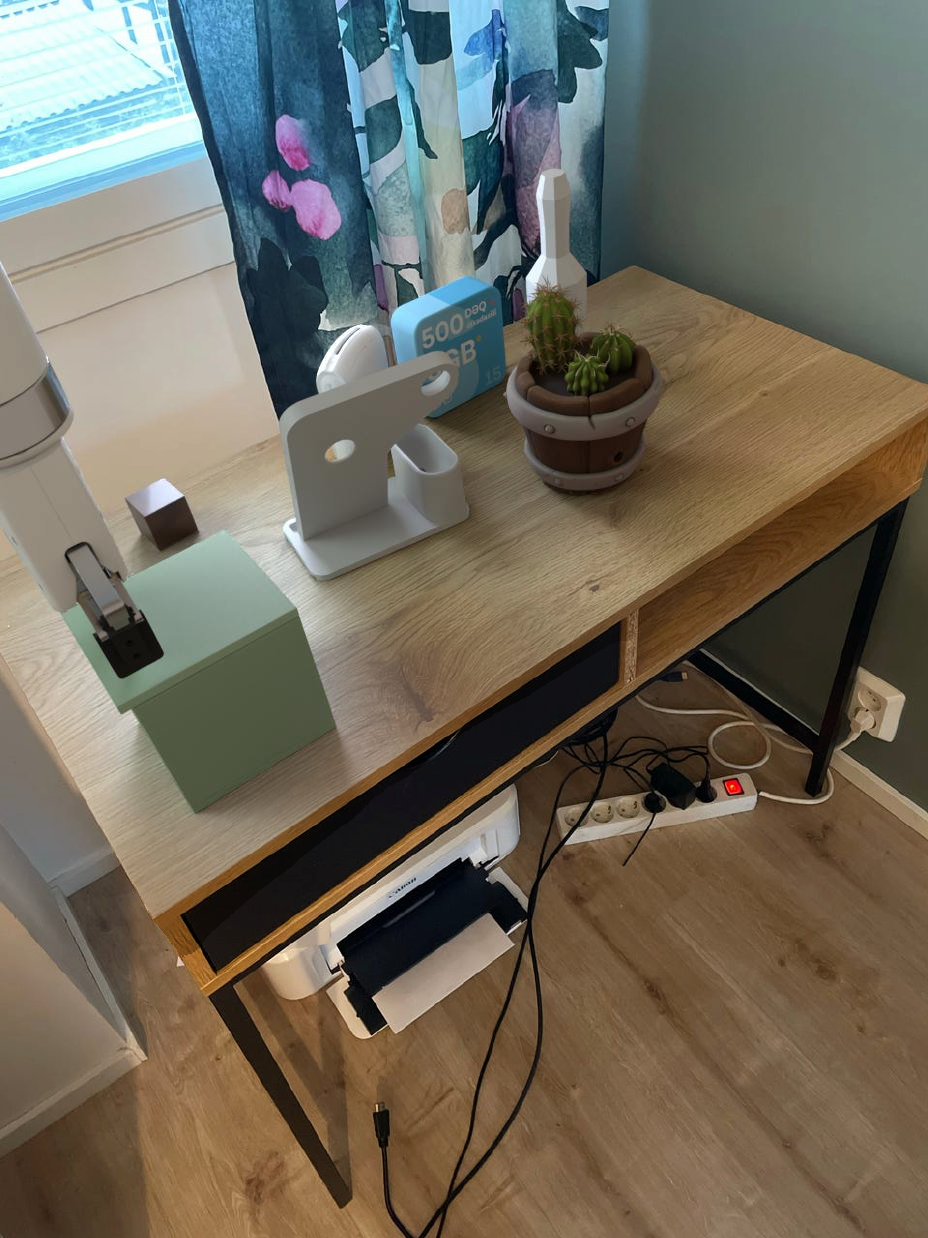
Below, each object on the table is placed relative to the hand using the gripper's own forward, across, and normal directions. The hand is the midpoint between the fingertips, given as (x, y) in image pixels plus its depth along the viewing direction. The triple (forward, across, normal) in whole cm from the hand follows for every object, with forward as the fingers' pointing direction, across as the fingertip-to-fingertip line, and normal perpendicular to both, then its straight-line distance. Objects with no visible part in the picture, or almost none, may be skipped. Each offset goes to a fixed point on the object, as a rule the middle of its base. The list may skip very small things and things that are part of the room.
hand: (114, 625), depth 61 cm
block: (+15, -28, +10) cm, 33 cm away
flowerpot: (+15, -6, +48) cm, 51 cm away
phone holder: (+15, -14, +27) cm, 34 cm away
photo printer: (+15, -27, +34) cm, 46 cm away
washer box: (+15, 0, +4) cm, 16 cm away
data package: (+15, -27, +47) cm, 56 cm away
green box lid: (+2, 0, +4) cm, 5 cm away
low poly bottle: (+16, -23, +59) cm, 65 cm away
